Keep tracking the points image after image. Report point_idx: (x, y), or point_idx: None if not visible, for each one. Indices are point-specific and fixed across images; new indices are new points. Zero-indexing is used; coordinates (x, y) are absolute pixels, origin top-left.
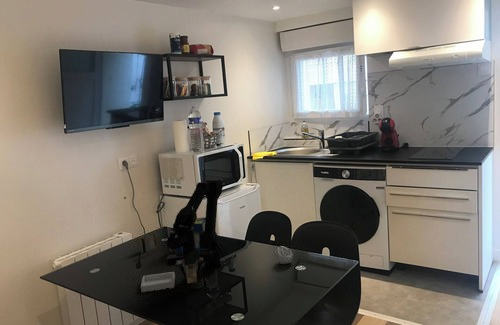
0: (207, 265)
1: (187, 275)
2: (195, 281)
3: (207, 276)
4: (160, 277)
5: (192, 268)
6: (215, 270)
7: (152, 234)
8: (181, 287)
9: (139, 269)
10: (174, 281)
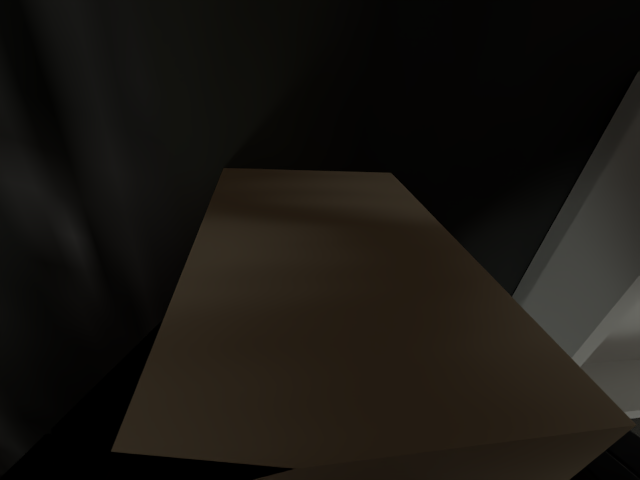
0: None
1: (447, 249)
2: (252, 175)
3: (68, 314)
4: (617, 372)
5: None
6: (4, 430)
7: None
8: (539, 20)
9: None
10: (541, 269)
